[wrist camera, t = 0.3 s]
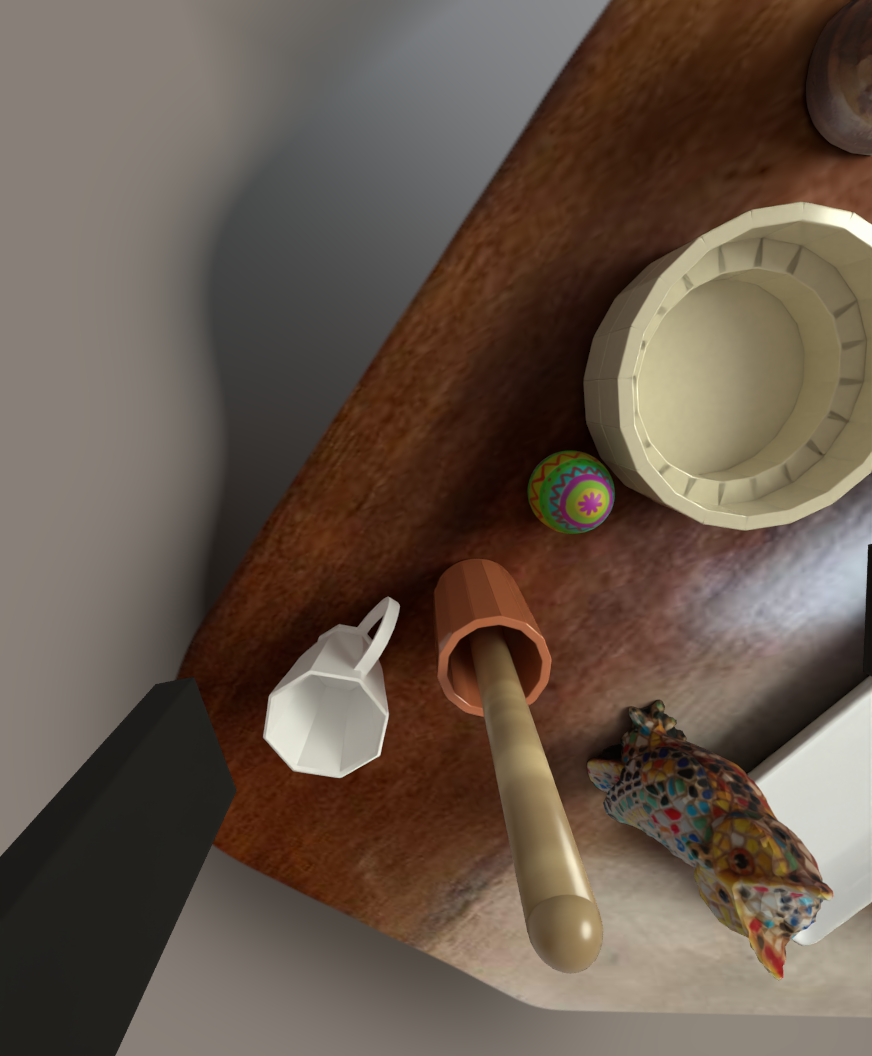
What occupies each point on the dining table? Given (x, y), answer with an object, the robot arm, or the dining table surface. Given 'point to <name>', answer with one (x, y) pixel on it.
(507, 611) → the holder
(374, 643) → the cup
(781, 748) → the tray
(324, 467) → the dining table surface
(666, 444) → the bowl
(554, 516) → the egg
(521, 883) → the stick
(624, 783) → the figurine
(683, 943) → the dining table surface
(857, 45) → the mortar and pestle
